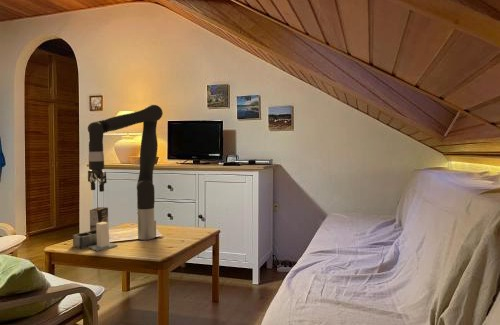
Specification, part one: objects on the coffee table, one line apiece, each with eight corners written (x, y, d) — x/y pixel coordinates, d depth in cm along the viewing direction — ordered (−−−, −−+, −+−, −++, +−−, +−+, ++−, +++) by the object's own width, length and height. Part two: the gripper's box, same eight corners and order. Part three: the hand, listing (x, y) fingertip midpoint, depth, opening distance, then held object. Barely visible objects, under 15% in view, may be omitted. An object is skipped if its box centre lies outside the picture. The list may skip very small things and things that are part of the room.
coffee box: (100, 238, 215) (99, 210, 214) (89, 237, 216) (88, 209, 215) (109, 234, 224) (108, 207, 223) (99, 233, 225) (98, 206, 224)
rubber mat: (108, 243, 206) (108, 241, 206) (117, 246, 200) (117, 244, 200) (88, 247, 197) (88, 246, 197) (97, 251, 192) (97, 249, 192)
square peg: (104, 243, 202) (104, 221, 201) (109, 245, 199) (108, 222, 198) (96, 245, 198) (96, 223, 198) (101, 247, 196) (100, 224, 195)
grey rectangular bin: (98, 240, 212) (97, 229, 211) (105, 242, 206) (105, 232, 206) (73, 246, 201) (72, 234, 200) (80, 249, 196) (80, 237, 195)
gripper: (110, 160, 199) (111, 191, 200) (95, 159, 207) (96, 188, 209) (96, 161, 193) (97, 193, 194) (82, 160, 202) (83, 190, 203)
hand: (97, 190), depth 201 cm, fingers open, 8 cm apart
